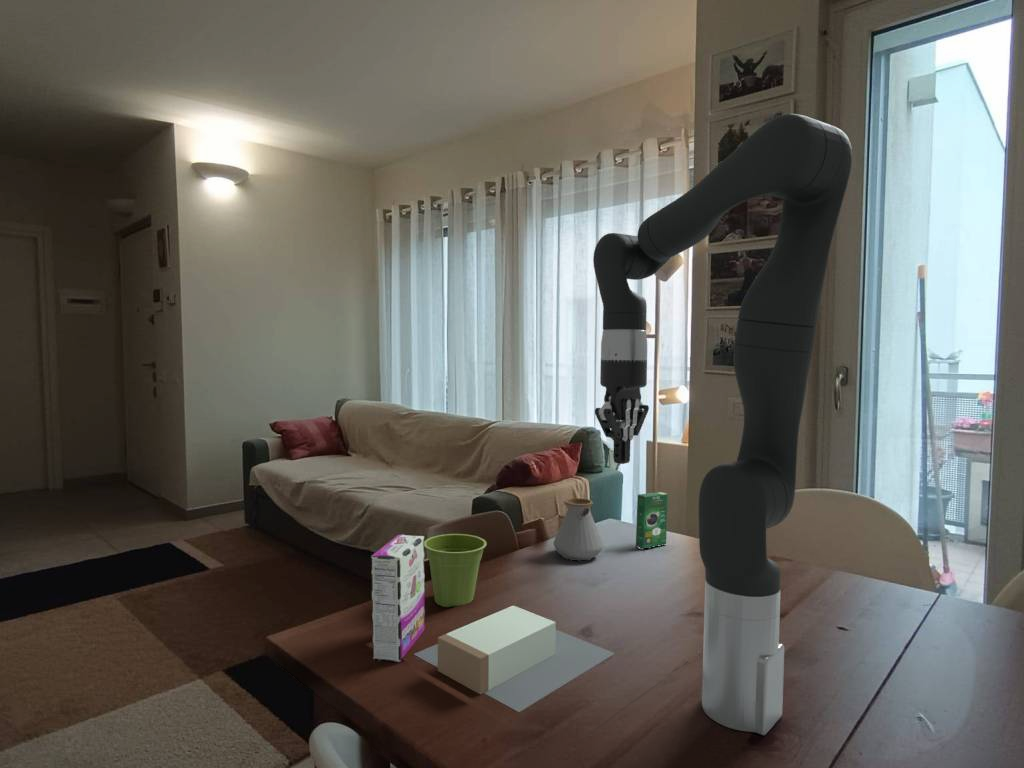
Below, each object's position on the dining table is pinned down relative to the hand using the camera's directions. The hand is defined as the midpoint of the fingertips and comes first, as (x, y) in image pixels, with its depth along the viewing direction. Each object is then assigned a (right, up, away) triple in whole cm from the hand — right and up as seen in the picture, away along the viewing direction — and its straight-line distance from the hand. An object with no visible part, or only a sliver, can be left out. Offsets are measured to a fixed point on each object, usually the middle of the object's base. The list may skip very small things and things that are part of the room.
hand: (621, 462), depth 102 cm
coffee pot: (-3, -27, +37) cm, 46 cm away
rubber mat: (-18, -29, -7) cm, 35 cm away
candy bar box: (-36, -29, -3) cm, 47 cm away
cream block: (-15, -26, -4) cm, 30 cm away
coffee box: (+16, -27, +49) cm, 58 cm away
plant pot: (-29, -28, +15) cm, 43 cm away
